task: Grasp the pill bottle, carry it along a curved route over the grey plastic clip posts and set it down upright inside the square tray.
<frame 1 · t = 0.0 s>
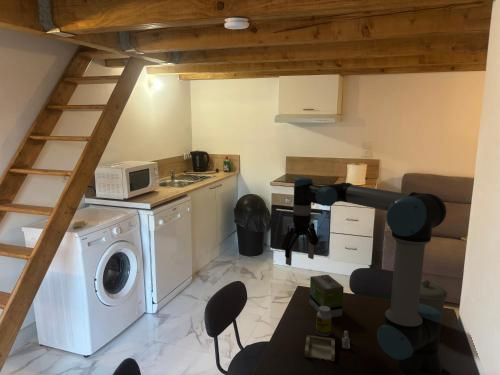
hand: (299, 261, 163), 28 cm above the table, fingers open, 13 cm apart
pill bottle: (323, 333, 159), on the table
tea box: (325, 310, 178), on the table
canister: (421, 324, 167), on the table
square tray: (319, 350, 146), on the table
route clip: (345, 343, 150), on the table
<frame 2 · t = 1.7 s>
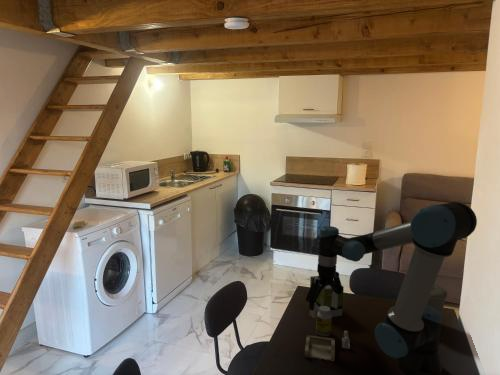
hand: (323, 311, 157), 9 cm above the table, fingers open, 13 cm apart
nothing on the table moved.
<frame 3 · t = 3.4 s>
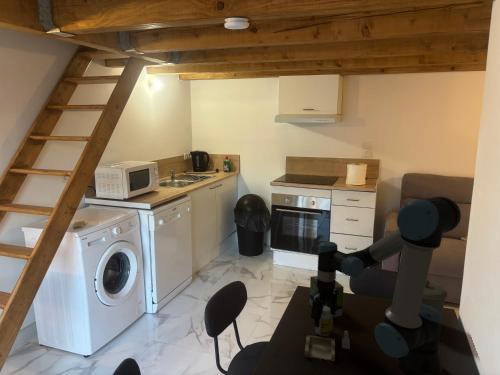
hand: (323, 330, 158), 1 cm above the table, fingers closed on pill bottle, 6 cm apart
pill bottle: (323, 333, 158), on the table, touching gripper
everything else where it was.
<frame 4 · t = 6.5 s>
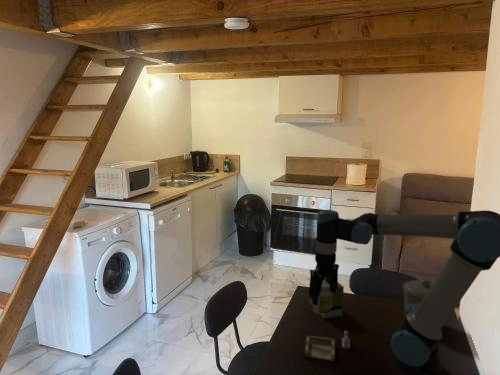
hand: (322, 309, 143), 17 cm above the table, fingers closed on pill bottle, 6 cm apart
pill bottle: (321, 312, 143), point 16 cm above the table, touching gripper
everything else where it was.
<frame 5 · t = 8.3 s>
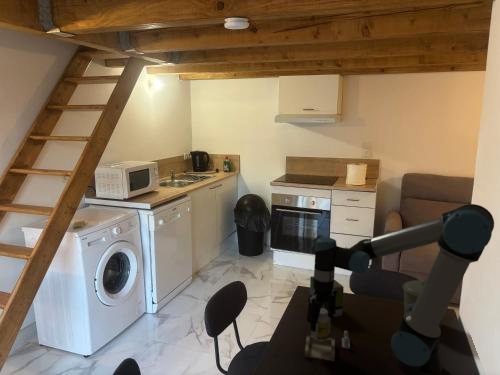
hand: (320, 335, 145), 7 cm above the table, fingers closed on pill bottle, 6 cm apart
pill bottle: (320, 337, 145), point 5 cm above the table, touching gripper
everything else where it was.
when the fingers open (4 cm above the table, at t = 9.6 s): pill bottle drops 2 cm, resting on square tray.
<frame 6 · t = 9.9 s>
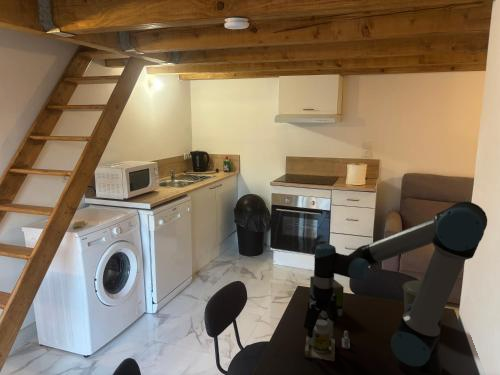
hand: (320, 339, 145), 5 cm above the table, fingers open, 9 cm apart
pill bottle: (320, 349, 146), resting on square tray
everything else where it was.
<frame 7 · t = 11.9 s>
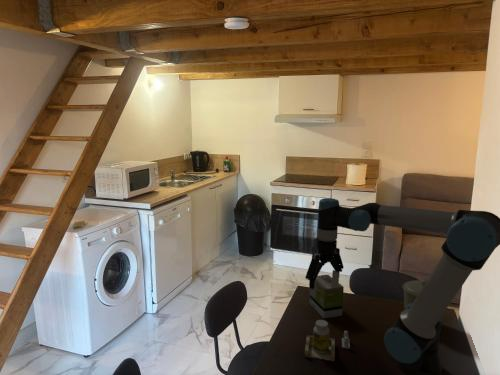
hand: (324, 291, 147), 22 cm above the table, fingers open, 13 cm apart
nothing on the table moved.
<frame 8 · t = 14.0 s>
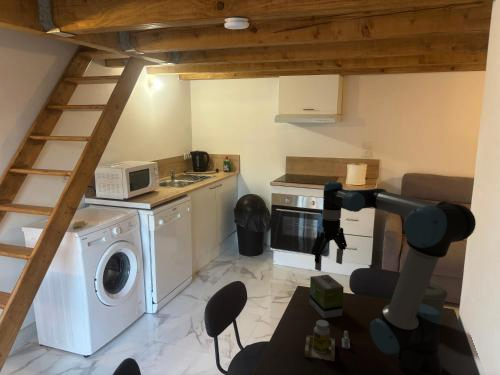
hand: (328, 266, 161), 27 cm above the table, fingers open, 13 cm apart
nothing on the table moved.
at the end: pill bottle inside the target area on the square tray (0.3 cm from its centre), point 0.4 cm above the square tray's base; pill bottle tilted 1°; the gripper is holding nothing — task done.
